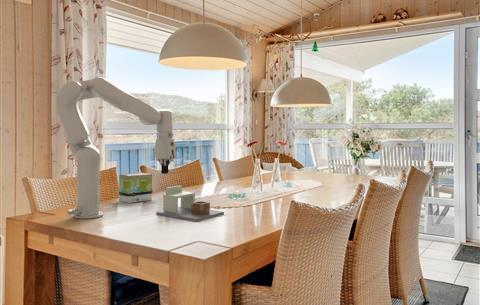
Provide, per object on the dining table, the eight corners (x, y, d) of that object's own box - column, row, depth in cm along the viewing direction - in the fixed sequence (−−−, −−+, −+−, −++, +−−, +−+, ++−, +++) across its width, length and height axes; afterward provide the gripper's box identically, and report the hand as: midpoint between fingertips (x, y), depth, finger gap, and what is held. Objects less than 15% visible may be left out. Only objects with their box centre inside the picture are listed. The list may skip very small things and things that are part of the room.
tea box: (130, 203, 216) (130, 175, 215) (118, 201, 222) (118, 174, 221) (152, 200, 228) (152, 173, 227) (140, 198, 234) (140, 172, 233)
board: (196, 221, 176) (196, 209, 176) (156, 214, 190) (156, 203, 189) (224, 214, 193) (224, 203, 192) (185, 208, 206) (185, 197, 206)
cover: (175, 212, 187) (176, 189, 187) (163, 210, 192) (163, 188, 191) (194, 208, 198) (195, 186, 198) (182, 206, 203) (182, 185, 202)
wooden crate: (201, 215, 184) (201, 204, 183) (191, 213, 187) (191, 202, 187) (209, 213, 189) (209, 202, 188) (199, 211, 192) (199, 201, 192)
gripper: (181, 135, 198) (181, 173, 199) (159, 135, 206) (159, 171, 207) (170, 136, 191) (170, 175, 193) (147, 135, 200) (148, 173, 201)
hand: (164, 173), depth 200 cm, fingers closed
